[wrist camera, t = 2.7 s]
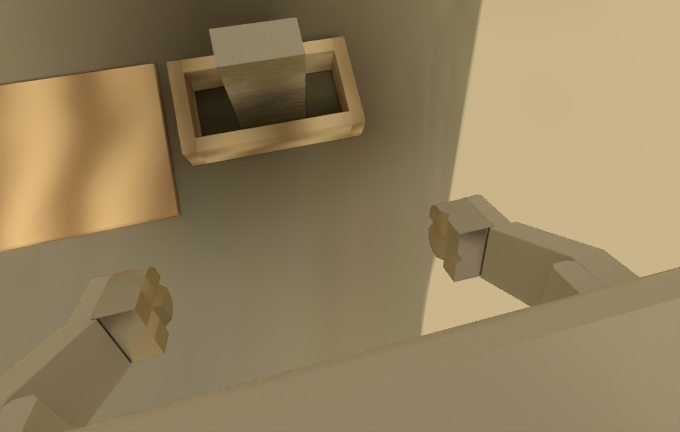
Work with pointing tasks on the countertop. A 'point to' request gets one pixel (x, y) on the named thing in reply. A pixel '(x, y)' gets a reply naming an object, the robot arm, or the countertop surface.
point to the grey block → (262, 70)
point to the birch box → (271, 137)
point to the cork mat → (83, 155)
